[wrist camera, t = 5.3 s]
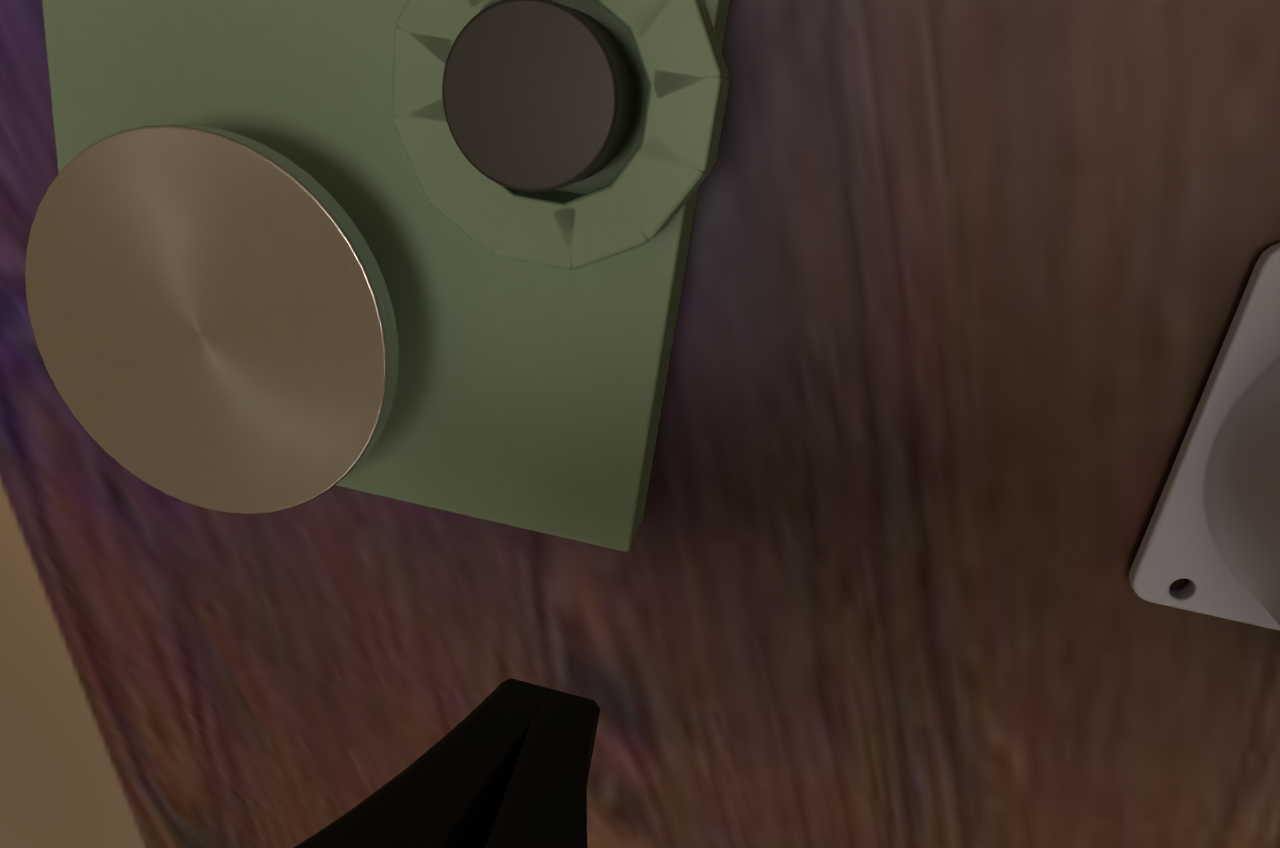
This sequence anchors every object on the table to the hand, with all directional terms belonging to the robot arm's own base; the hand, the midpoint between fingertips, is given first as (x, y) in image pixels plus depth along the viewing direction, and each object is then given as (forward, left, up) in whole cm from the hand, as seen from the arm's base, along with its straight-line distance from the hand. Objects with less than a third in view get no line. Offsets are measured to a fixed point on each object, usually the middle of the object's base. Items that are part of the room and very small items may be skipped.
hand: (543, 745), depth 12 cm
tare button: (+3, -8, -7) cm, 11 cm away
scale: (+7, -5, -10) cm, 13 cm away
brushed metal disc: (+9, -3, -6) cm, 12 cm away
